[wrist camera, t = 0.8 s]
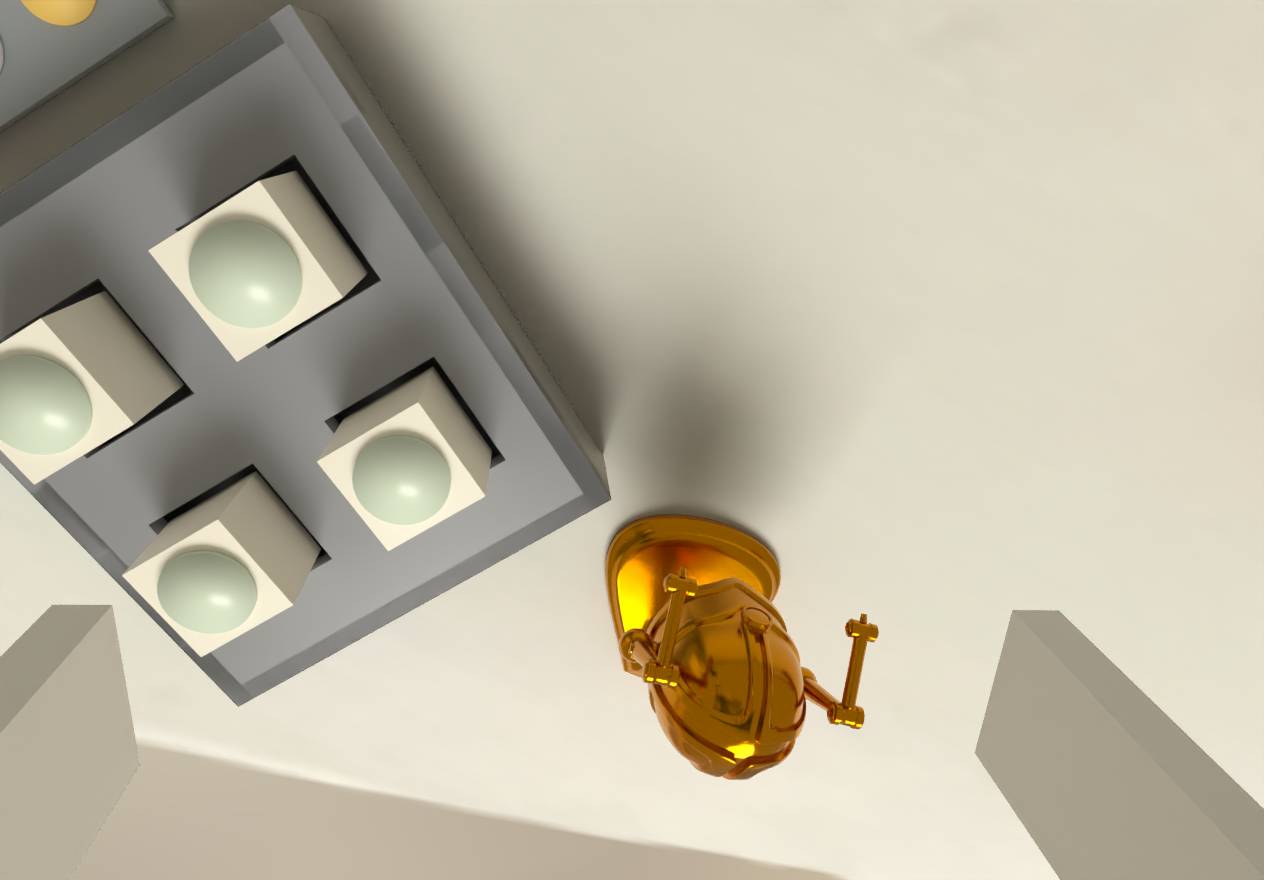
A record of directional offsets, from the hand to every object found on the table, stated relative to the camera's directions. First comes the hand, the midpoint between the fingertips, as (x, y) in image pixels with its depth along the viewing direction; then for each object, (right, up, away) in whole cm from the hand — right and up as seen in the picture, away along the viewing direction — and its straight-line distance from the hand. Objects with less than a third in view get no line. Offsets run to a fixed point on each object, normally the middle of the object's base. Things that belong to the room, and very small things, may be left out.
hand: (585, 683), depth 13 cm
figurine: (+3, -3, +28) cm, 29 cm away
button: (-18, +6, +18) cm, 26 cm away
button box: (-13, +7, +22) cm, 27 cm away
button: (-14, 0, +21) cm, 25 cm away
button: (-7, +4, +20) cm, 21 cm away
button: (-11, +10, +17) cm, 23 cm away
